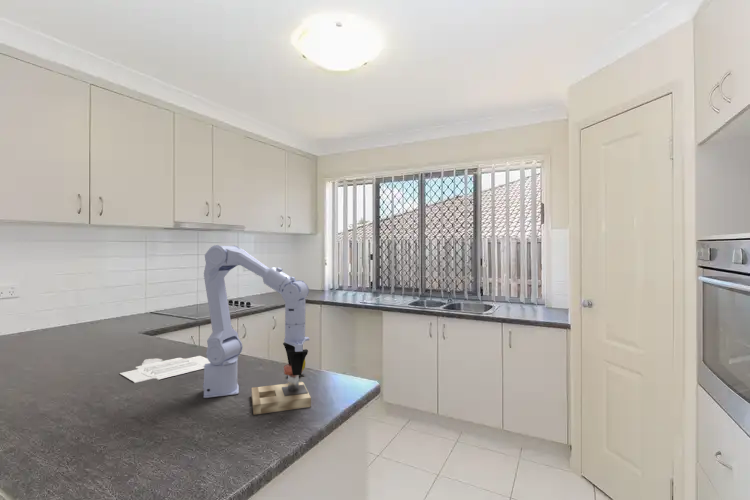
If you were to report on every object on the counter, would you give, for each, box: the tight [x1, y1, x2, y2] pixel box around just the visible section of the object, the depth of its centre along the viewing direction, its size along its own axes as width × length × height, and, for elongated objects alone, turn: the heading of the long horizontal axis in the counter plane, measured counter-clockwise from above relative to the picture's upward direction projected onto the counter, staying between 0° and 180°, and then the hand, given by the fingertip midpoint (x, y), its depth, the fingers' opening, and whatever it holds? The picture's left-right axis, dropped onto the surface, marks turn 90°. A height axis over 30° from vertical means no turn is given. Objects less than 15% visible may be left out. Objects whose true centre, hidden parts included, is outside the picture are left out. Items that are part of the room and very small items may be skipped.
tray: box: [118, 355, 210, 384], centre depth 134 cm, size 20×28×4 cm
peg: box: [283, 363, 303, 392], centre depth 107 cm, size 5×5×7 cm
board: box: [251, 381, 312, 416], centre depth 105 cm, size 15×13×3 cm
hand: (294, 370), depth 107 cm, fingers open, 7 cm apart
